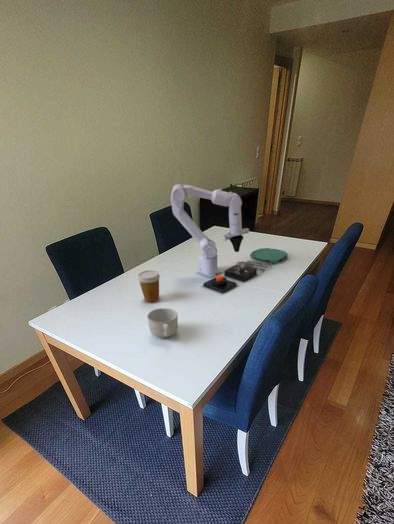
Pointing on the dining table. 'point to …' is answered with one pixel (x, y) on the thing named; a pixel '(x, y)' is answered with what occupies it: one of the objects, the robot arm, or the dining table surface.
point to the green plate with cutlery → (266, 257)
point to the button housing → (219, 285)
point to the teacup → (163, 322)
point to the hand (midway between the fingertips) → (236, 251)
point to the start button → (219, 278)
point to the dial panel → (240, 273)
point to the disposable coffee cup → (149, 285)
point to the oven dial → (241, 266)
